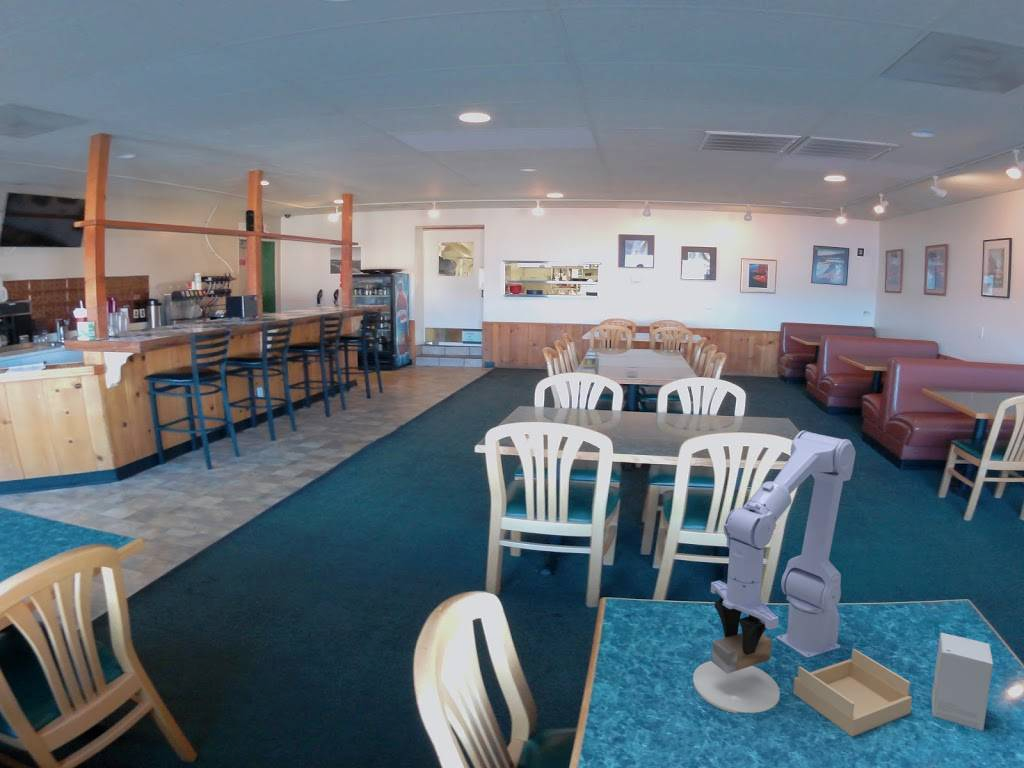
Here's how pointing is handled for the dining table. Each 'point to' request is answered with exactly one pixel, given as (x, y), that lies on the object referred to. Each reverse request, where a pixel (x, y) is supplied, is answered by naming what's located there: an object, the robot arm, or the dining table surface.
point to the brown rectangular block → (739, 653)
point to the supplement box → (962, 680)
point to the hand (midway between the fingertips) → (739, 646)
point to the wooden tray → (855, 693)
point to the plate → (736, 688)
